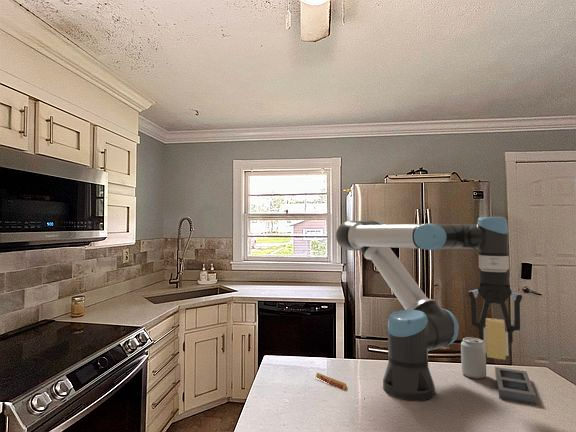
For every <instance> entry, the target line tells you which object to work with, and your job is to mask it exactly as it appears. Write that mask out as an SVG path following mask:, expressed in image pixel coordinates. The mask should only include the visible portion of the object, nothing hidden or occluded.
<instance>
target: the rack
mask: <svg viewBox="0 0 576 432" xmlns="http://www.w3.org/2000/svg"><path fill="white" fill-rule="evenodd" d="M494 375H495V380H496V387H497V393H498V398H499V399H502V400H507V401H513V402H518V403H524V404H528V405H529V404H530V405H535V406H536V405H537V395H536V392H535V390H534V387H533V384H532V382H531V380H530V377H529V375H528V371H524V370H519V369H512V368H504V367H496V366H494Z"/></svg>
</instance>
